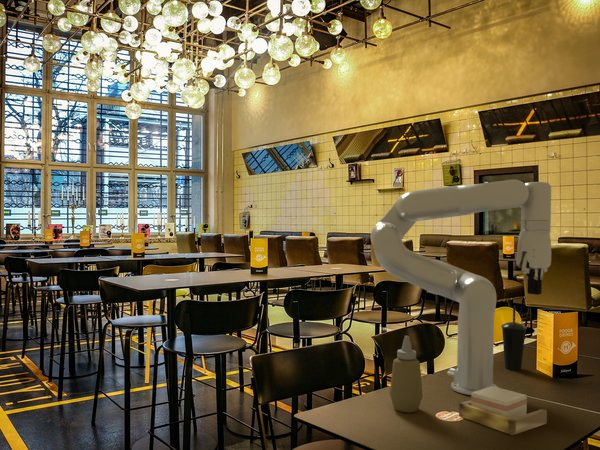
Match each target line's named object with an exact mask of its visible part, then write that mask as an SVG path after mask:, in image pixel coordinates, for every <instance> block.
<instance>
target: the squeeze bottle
mask: <svg viewBox="0 0 600 450" xmlns="http://www.w3.org/2000/svg"><path fill="white" fill-rule="evenodd" d="M396 353H397V354H396V355H397V357H396V358H394V359H393V362H392V371H391V380H390V389H389V396H390V400H391V403H392V406H393V409H394V410H396V411H399V412H402V413H415V412H417V411H418V410H419V407H420V405H421V403H422V400H423V386H422V385H423V384H422V372H421V362H420V361H419V360H418V359H417V351H416V350H415V349H413V348H412V342H411V337H410V335H404V338H403V341H402V346H401V348H400V349H397V351H396Z"/></svg>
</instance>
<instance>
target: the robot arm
mask: <svg viewBox="0 0 600 450" xmlns="http://www.w3.org/2000/svg"><path fill="white" fill-rule="evenodd" d="M514 208H515V209H516V208H520V212H521V213H520V232H519V234H518V241H517V249H516V259H515V260H516V262H515V263H516V266H517V267H518V268H521V273H523V274H525V275H526V276H525V277H526V279H527V292H526V293H527V294H529V295H530V294H531V295H536V296H537V295H538V296H539V295H542V288H543V287H542V282H543V281H542V280H543V279H544V274H545V273H546V272H548V268H550V266H551V264H552V240H551V230H552V229H551V227H552V226H551V223H552V222H551V219H552V214H551V213H552V185H551V184H550V183H549V182H545V181H529V182H525V183H524V182H523V181H521V180H519V179H507V180H500V181H499V180H498V181H491V182H485V183H484V182H483V183H475V184H459V185H451V186H444V187H435V188H427V189H419V190H411V191H408V192H405V193H403V194H401V195H400V196H399V197H398V198H397V199H396V201H395V202H394V203H393V205H391V207H390V208H389V210H387V212H386V213H385V214H384V215H383V217H381V219H380V220H379V221H378V222H377V223H376V225H374V226H373V228H372V229H371V232H370V242H371V244H372V248H373V252H374V257H375V258H376V261H377V262H378V264H379V265H380V267H381V268H382V269H383V270H384V271H386V272H387V273H388V274H390V275H391V276H393V277H394V278H397V279H399V280H402V281H405V282H407V283H409V284H412V286H416V287H419V288H421V289H423V290H425V291H427V292H428V293H430V294H433V295H439V296H441V297H444V298H446V299H449V300H452V301H454V302H457V303H459V307H458V308H459V309H458V315H457V316H458V317H457V343H456V345H457V350H456V352H457V354H456V355H457V356H456V368H454V367H450V368H449V369H448V370H447V373H446V375H447V376H448V377H451V378H453V381H452V382H451V383H450V388H451V390H453V391H454V392H457V393H459V394H463V395H467V396H472V392H475V391H479V390H482V389H485V388H488V387H491V386H494V387H498V385H496V384H495V383H494V341H495V340H494V337H495V336H494V335H495V333H494V331H495V330H494V329H495V328H494V327H495V326H494V325H495V312H496V306H497V292H496V288H495V287H494V284H493V283H492V282H491V280H489V279H488V278H486V277H484V276H482V275H479V274H475V273H473V272H470V271H467V270H464V269H462V268H460V267H457V266H455V265H452V264H450V263H448V262H445V261H442V260H439V259H433V258H430V257H427V256H424V255H422V254H419V253H417V252H415V251H412V250H410V249H409V248H407V247H406V246H405V245H404V242H403V238H404V236H406V235H407V234H408V232H409V231H410V230H411V229H412V227H413V226H414V225H415V224H416V222H421V221H428V220H436V219H437V220H438V219H444V218H455V217H463V216H469V215H472V214H477V213H481V212H483V213H484V212H490V211H497V210H499V211H500V210H506V209H514Z"/></svg>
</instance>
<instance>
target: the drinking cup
mask: <svg viewBox="0 0 600 450" xmlns="http://www.w3.org/2000/svg"><path fill="white" fill-rule="evenodd" d="M500 326H501V327H500V328H501V329H502V330H501V331H502V343H503V346H502V347H503V357H504V358H503V359H504V368H505V369H506V370H509V371H521V370H522V365H523V357H524V356H523V355H524V348H525V341H526V330H527V328H528V327H527V326H526V325H524V324H523V323H519V322H516V305H513V307H512V321H508V322H506V323H503V324H501V325H500Z"/></svg>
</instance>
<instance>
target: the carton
mask: <svg viewBox="0 0 600 450" xmlns="http://www.w3.org/2000/svg"><path fill="white" fill-rule="evenodd" d="M527 396H528V395H527V394H523V393H520V392H516V391H514V390H513V391H512V390H509V389H504V388H501V387H499V386H497V387H494V386H491V387H488V388H485V389H482V390H479V391H475V392H472V395H470V400H471V406H474V407H477V408H480V409H483V410H486V411H489V412H492V413H495V414H498V415H501V416H504V417H507V418H510V419H512V418H516V417H519V416H522V415H525V414H528V413H527V409H528V408H527V406H528V405H527V404H528V397H527Z"/></svg>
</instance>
